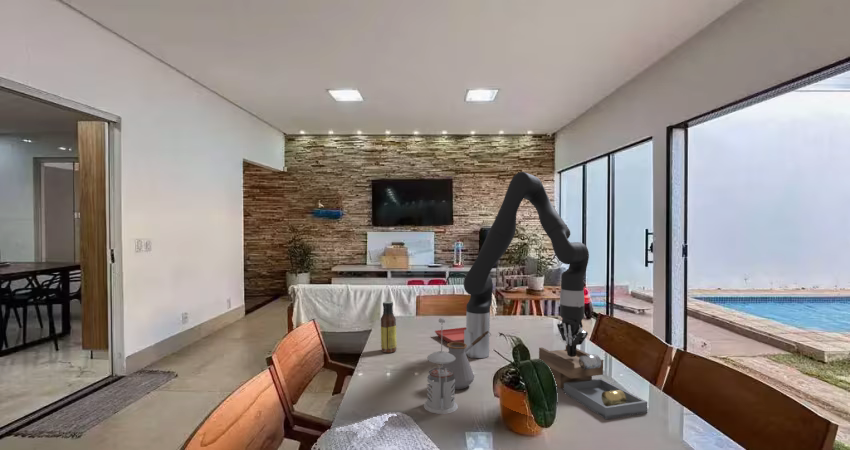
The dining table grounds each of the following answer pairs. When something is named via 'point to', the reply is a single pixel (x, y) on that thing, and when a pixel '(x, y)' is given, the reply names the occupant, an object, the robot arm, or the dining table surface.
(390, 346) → the sauce bottle
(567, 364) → the brown open channel
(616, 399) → the brass slug
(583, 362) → the steel slug
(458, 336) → the plant saucer
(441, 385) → the french press
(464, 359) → the coffee pot
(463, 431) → the dining table surface
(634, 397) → the grey tray
